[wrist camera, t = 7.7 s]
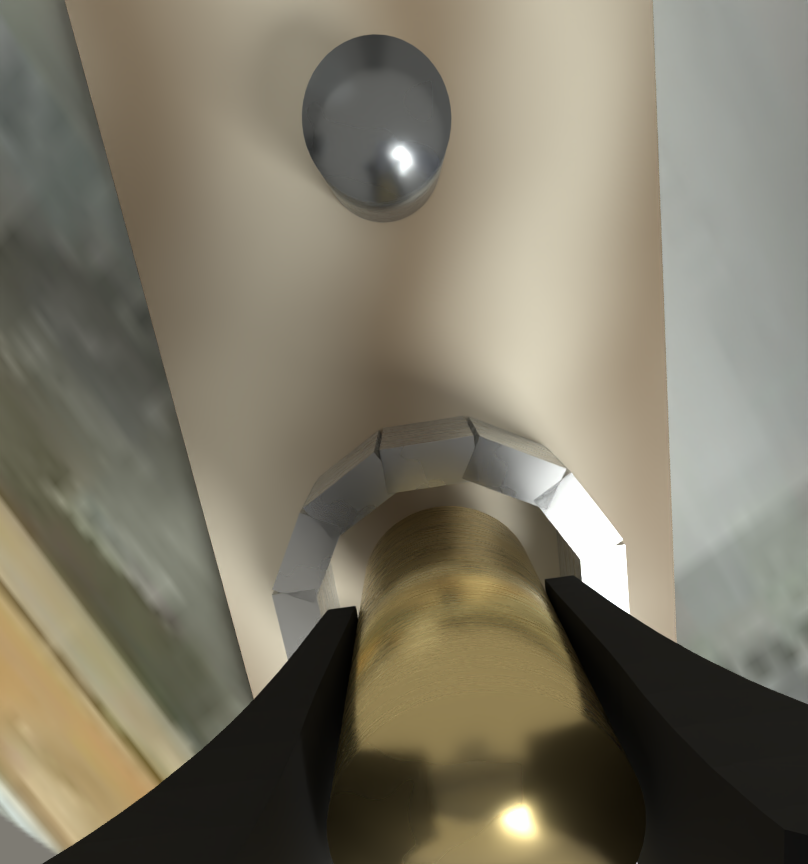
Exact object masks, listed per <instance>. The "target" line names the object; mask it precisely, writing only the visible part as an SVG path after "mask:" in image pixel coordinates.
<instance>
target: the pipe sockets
mask: <svg viewBox="0 0 808 864" xmlns="http://www.w3.org/2000/svg"><path fill="white" fill-rule="evenodd" d="M451 119H452V118H451V106H450V100H449V96H448V92H447V89H446V86H445V84H444V82H443V79H442V77H441V75H440V74H439V72H438V70H437V69H436V67H435V66H434V64H433V63H432V62H431V61H430V59H429V58H428V57H427V56H426V55H425V54H423V53H422V52H421V51H420V50H419V49H417V48H416V47H415V46H413V45H412V44H410V43H408V42H406V41H404V40H402V39H399V38H396V37H393V36H388V35H378V34H372V35H363V36H359V37H356V38H352V39H350V40H348V41H346V42H344V43H342V44H340V45H339V46H337V47H335V48H334V49H333V50H332V51H331V52H329V53H328V54H327V55H326V56H325V57H324V59H323V60H322V61H321V62H320V63H319V65H318V66H317V68H316V69H315V70H314V72H313V74H312V76H311V78H310V80H309V83H308V85H307V88H306V91H305V95H304V99H303V106H302V128H303V135H304V139H305V143H306V146H307V149H308V151H309V154H310V156H311V158H312V160H313V162H314V164H315V165H316V167H317V168H318V170H319V171H320V173H321V175H322V176H323V178H324V179H325V181H326V182H327V184H328V185H329V187H330V188H331V190H332V191H333V193H334V194H335V196H336V197H337V199H338V200H339V201H340V202H341V204H342V205H343V206H344V207H345V208H347V209H348V210H349V211H350V212H352V213H353V214H355V215H356V216H358V217H360V218H362V219H365V220H368V221H372V222H379V223H387V222H394V221H399V220H402V219H404V218H407V217H408V216H410V215H412V214H414V213H415V212H416V211H418V210H419V209H420V208H421V207H422V206H423V205H424V204H425V203H426V202H427V200H428V199H429V198H430V196H431V195H432V193H433V191H434V190H435V187H436V185H437V183H438V179H439V176H440V172H441V169H442V165H443V161H444V157H445V154H446V150H447V146H448V142H449V138H450V132H451ZM464 482H473V483H475V484H478V485H481V486H484V487H486V488H489V489H492V490H495V491H497V492H500V493H503V494H505V495H508V496H511V497H514V498H516V499H519V500H522V501H524V502H527V503H530V504H533V505H535V506H538V507H539V508H540V509H541V510H542V512H543V513H544V514H545V515H546V517H547V518H548V519H549V520H550V522H551V523H552V524H553V525H554V527H555V528H556V535H557V545H558V556H559V566H560V577H564V576H571V575H574V576H575V577H577V578H578V579H580V580H581V581H583V582H584V583H586V584H587V585H588V586H590V587H591V588H593V589H594V590H595V591H597V592H598V593H600V594H601V595H602V596H604V597H605V598H607V599H608V600H610V601H611V602H612V603H614V604H615V605H617V606H618V607H620V608H621V609H623V610H624V611H626V612H627V613H629V600H628V584H627V567H626V551H625V544H624V543H623V542H622V540H623V539H622V537H621V536H620V535H619V533H618V532H617V531H616V530H615V528H614V527H613V526H612V524H611V523H610V522H609V521H608V519H607V518H606V517H605V515H604V514H603V513H602V511H601V510H600V509H599V508H598V506H597V505H596V504H595V502H594V501H593V500H592V498H591V497H590V496H589V495H588V493H587V492H586V491H585V489H584V488H583V487H582V485H581V484H580V483H579V482H578V480H577V479H576V478H575V476H574V475H573V474H572V472H571V471H570V470H569V469H568V468H567V467H566V466H565V465H564V464H563V463H562V462H561V461H560V460H559V459H558V458H557V457H556V456H555V455H554V454H553V453H552V452H551V451H550V450H549V449H548V448H547V447H545V446H544V445H543V444H541V443H538V442H536V441H533V440H530V439H528V438H525V437H522V436H520V435H517V434H514V433H512V432H509V431H507V430H504V429H501V428H499V427H496V426H493V425H491V424H488V423H485V422H483V421H480V420H478V419H475V418H472V417H470V416H469V417H468V419H467V421H466V420H465V418H464V416H457V417H451V418H444V419H438V420H431V421H425V422H418V423H412V424H405V425H399V426H393V427H386V428H383V433H382V434H381V433H380V431H379V430H378V431H377V432H375V433H374V434H373V435H372V436H370V437H369V438H368V439H367V440H365V441H364V442H363V443H362V444H360V445H359V446H358V447H357V448H355V449H354V450H353V451H352V452H350V453H349V454H348V455H346V456H345V457H344V458H343V459H341V460H340V461H339V462H338V463H336V464H335V465H334V466H333V467H331V468H330V469H329V470H328V471H326V472H325V473H324V474H323V475H321V476H320V477H319V478H318V479H317V481H316V482H315V483H314V485H313V487H312V489H311V491H310V493H309V495H308V497H307V499H306V501H305V503H304V505H303V507H302V509H301V511H300V513H299V516H298V519H297V521H296V524H295V527H294V530H293V533H292V535H291V538H290V541H289V544H288V547H287V549H286V552H285V555H284V558H283V561H282V563H281V566H280V569H279V572H278V575H277V577H276V580H275V583H274V586H273V588H272V590H274V591H273V594H272V598H273V602H274V606H275V610H276V614H277V618H278V622H279V626H280V630H281V634H282V638H283V642H284V646H285V651H286V655H287V659H289V658H290V657H291V656H292V655H293V653H294V652H295V651H296V650H297V648H298V647H299V646H300V645H301V643H302V642H303V641H304V639H305V638H306V637H307V636H308V634H309V633H310V632H311V630H312V629H313V628H314V626H315V625H316V624H317V623H318V621H319V620H320V619H321V618H322V616H323V615H324V614H325V613H326V611H327V610H329V609H336V608H340V603H339V599H338V594H337V589H336V585H335V580H334V575H333V570H332V566H331V561H330V560H331V558H332V555H333V552H334V550H335V547H336V545H337V542H338V539H339V537H340V535H342V534H343V533H344V532H345V531H347V530H348V529H349V528H351V527H352V526H353V525H355V524H356V523H357V522H359V521H360V520H361V519H362V518H364V517H365V516H366V515H368V514H369V513H370V512H372V511H373V510H374V509H376V508H377V507H378V506H379V505H381V504H382V503H383V502H385V501H386V500H387V499H389V498H390V497H391V496H392V495H394V494H395V493H397V492H404V491H410V490H417V489H424V488H430V487H437V486H444V485H451V484H457V483H464Z"/></svg>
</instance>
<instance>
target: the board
mask: <svg viewBox="0 0 808 864" xmlns="http://www.w3.org/2000/svg"><path fill="white" fill-rule="evenodd" d="M65 3H66V7H67V11H68V14H69V18H70V22H71V25H72V29H73V33H74V36H75V40H76V44H77V48H78V51H79V55H80V59H81V62H82V66H83V70H84V73H85V77H86V81H87V84H88V88H89V92H90V96H91V99H92V103H93V107H94V110H95V114H96V118H97V121H98V125H99V129H100V133H101V136H102V140H103V144H104V147H105V151H106V155H107V158H108V162H109V166H110V169H111V173H112V177H113V181H114V184H115V188H116V192H117V195H118V199H119V203H120V206H121V210H122V214H123V217H124V221H125V225H126V229H127V232H128V236H129V240H130V243H131V247H132V251H133V254H134V258H135V262H136V265H137V269H138V273H139V277H140V280H141V284H142V288H143V291H144V295H145V299H146V302H147V306H148V310H149V314H150V317H151V321H152V325H153V328H154V332H155V336H156V339H157V343H158V347H159V350H160V354H161V358H162V362H163V365H164V369H165V373H166V376H167V380H168V384H169V387H170V391H171V395H172V398H173V402H174V406H175V410H176V413H177V417H178V421H179V424H180V428H181V432H182V435H183V439H184V443H185V447H186V450H187V454H188V458H189V461H190V465H191V469H192V472H193V476H194V480H195V483H196V487H197V491H198V495H199V498H200V502H201V506H202V509H203V513H204V517H205V520H206V524H207V528H208V531H209V535H210V539H211V543H212V546H213V550H214V554H215V557H216V561H217V565H218V568H219V572H220V576H221V580H222V583H223V587H224V591H225V594H226V598H227V602H228V605H229V609H230V613H231V616H232V620H233V624H234V628H235V631H236V635H237V639H238V642H239V646H240V650H241V653H242V657H243V661H244V664H245V668H246V672H247V676H248V679H249V683H250V687H251V690H252V694H253V698H255V697H256V696H257V695H258V694H259V693H260V692H261V691H262V690H263V688H264V687H265V686H266V685H267V684H268V683H269V682H270V681H271V680H272V678H273V677H274V676H275V675H276V674H277V673H278V672H279V671H280V669H281V668H282V667H283V666H284V664H285V663H286V662H287V661H288V659H287V655H286V651H285V646H284V642H283V638H282V634H281V630H280V626H279V622H278V618H277V614H276V610H275V606H274V602H273V598H272V594H273V591H274V590H272V588H273V586H274V583H275V580H276V577H277V575H278V572H279V569H280V566H281V563H282V561H283V558H284V555H285V552H286V549H287V547H288V544H289V541H290V538H291V535H292V533H293V530H294V527H295V524H296V521H297V519H298V516H299V513H300V511H301V509H302V507H303V505H304V503H305V501H306V499H307V497H308V495H309V493H310V491H311V489H312V487H313V485H314V483H315V482H316V481H317V479H318V478H319V477H320V476H321V475H323V474H324V473H325V472H326V471H328V470H329V469H330V468H331V467H333V466H334V465H335V464H336V463H338V462H339V461H340V460H341V459H343V458H344V457H345V456H346V455H348V454H349V453H350V452H352V451H353V450H354V449H355V448H357V447H358V446H359V445H360V444H362V443H363V442H364V441H365V440H367V439H368V438H369V437H370V436H372V435H373V434H374V433H375V432H377V431H378V430H379V431H380V433H381V434H382V433H383V428H386V427H393V426H399V425H405V424H412V423H418V422H425V421H431V420H438V419H444V418H451V417H457V416H464V418H465V420H466V421H467V419H468V417H469V416H470V417H472V418H475V419H478V420H480V421H483V422H485V423H488V424H491V425H493V426H496V427H499V428H501V429H504V430H507V431H509V432H512V433H514V434H517V435H520V436H522V437H525V438H528V439H530V440H533V441H536V442H538V443H541V444H543V445H544V446H545V447H547V448H548V449H549V450H550V451H551V452H552V453H553V454H554V455H555V456H556V457H557V458H558V459H559V460H560V461H561V462H562V463H563V464H564V465H565V466H566V467H567V468H568V469H569V470H570V471H571V472H572V474H573V475H574V476H575V478H576V479H577V480H578V482H579V483H580V484H581V485H582V487H583V488H584V489H585V491H586V492H587V493H588V495H589V496H590V497H591V498H592V500H593V501H594V502H595V504H596V505H597V506H598V508H599V509H600V510H601V511H602V513H603V514H604V515H605V517H606V518H607V519H608V521H609V522H610V523H611V524H612V526H613V527H614V528H615V530H616V531H617V532H618V533H619V535H620V536H621V537H622V539H623V540H622V542H623V543H624V544H625V551H626V567H627V584H628V600H629V614H630V615H632V616H633V617H635V618H636V619H638V620H639V621H641V622H642V623H644V624H646V625H647V626H649V627H650V628H652V629H654V630H655V631H657V632H658V633H660V634H662V635H664V636H665V637H667V638H669V639H670V640H672V641H674V642H676V615H675V588H674V561H673V534H672V508H671V481H670V454H669V427H668V400H667V374H666V347H665V320H664V293H663V266H662V240H661V213H660V186H659V159H658V132H657V105H656V79H655V52H654V25H653V0H65ZM372 34H378V35H388V36H393V37H396V38H399V39H402V40H404V41H406V42H408V43H410V44H412V45H413V46H415V47H416V48H417V49H419V50H420V51H421V52H422V53H423V54H425V55H426V56H427V57H428V58H429V59H430V61H431V62H432V63H433V64H434V66H435V67H436V69H437V70H438V72H439V74H440V75H441V77H442V79H443V82H444V84H445V86H446V89H447V92H448V96H449V100H450V106H451V118H452V119H451V132H450V138H449V142H448V146H447V150H446V154H445V157H444V161H443V165H442V169H441V172H440V176H439V179H438V183H437V185H436V187H435V190H434V191H433V193H432V195H431V196H430V198H429V199H428V200H427V202H426V203H425V204H424V205H423V206H422V207H421V208H420V209H419V210H418V211H416V212H415V213H414V214H412V215H410V216H408V217H407V218H404V219H402V220H399V221H394V222H387V223H379V222H372V221H368V220H365V219H362V218H360V217H358V216H356V215H355V214H353V213H352V212H350V211H349V210H348V209H347V208H345V207H344V206H343V205H342V204H341V202H340V201H339V200H338V199H337V197H336V196H335V194H334V193H333V191H332V190H331V188H330V187H329V185H328V184H327V182H326V181H325V179H324V178H323V176H322V175H321V173H320V171H319V170H318V168H317V167H316V165H315V164H314V162H313V160H312V158H311V156H310V154H309V151H308V149H307V146H306V143H305V139H304V135H303V128H302V106H303V99H304V95H305V91H306V88H307V85H308V83H309V80H310V78H311V76H312V74H313V72H314V70H315V69H316V68H317V66H318V65H319V63H320V62H321V61H322V60H323V59H324V57H325V56H326V55H327V54H328V53H329V52H331V51H332V50H333V49H334V48H335V47H337V46H339V45H340V44H342V43H344V42H346V41H348V40H350V39H352V38H356V37H359V36H363V35H372ZM441 506H459V507H466V508H471V509H474V510H478V511H481V512H483V513H486V514H488V515H490V516H492V517H494V518H495V519H497V520H499V521H500V522H501V523H503V524H504V525H505V526H507V527H508V528H509V529H510V530H511V531H512V532H513V533H514V534H515V535H516V537H517V538H518V539H519V541H520V542H521V544H522V546H523V547H524V549H525V551H526V553H527V555H528V557H529V559H530V561H531V563H532V565H533V567H534V569H535V571H536V573H537V575H538V577H539V579H540V581H541V583H542V586H543V588H544V590H545V592H546V589H545V580H544V579H549V578H557V577H560V566H559V556H558V545H557V535H556V528H555V527H554V525H553V524H552V523H551V522H550V520H549V519H548V518H547V517H546V515H545V514H544V513H543V512H542V510H541V509H540V508H539V507H538V506H535V505H533V504H530V503H527V502H524V501H522V500H519V499H516V498H514V497H511V496H508V495H505V494H503V493H500V492H497V491H495V490H492V489H489V488H486V487H484V486H481V485H478V484H475V483H473V482H464V483H457V484H451V485H444V486H437V487H430V488H424V489H417V490H410V491H404V492H397V493H395V494H394V495H392V496H391V497H390V498H389V499H387V500H386V501H385V502H383V503H382V504H381V505H379V506H378V507H377V508H376V509H374V510H373V511H372V512H370V513H369V514H368V515H366V516H365V517H364V518H362V519H361V520H360V521H359V522H357V523H356V524H355V525H353V526H352V527H351V528H349V529H348V530H347V531H345V532H344V533H343V534H342V535H340V537H339V539H338V542H337V545H336V547H335V550H334V552H333V555H332V558H331V560H330V561H331V566H332V570H333V575H334V580H335V585H336V589H337V594H338V599H339V603H340V608H343V607H350V606H356V610H357V615H358V617H359V611H360V604H361V598H362V591H363V585H364V579H365V572H366V567H367V564H368V560H369V557H370V555H371V553H372V551H373V549H374V547H375V546H376V544H377V543H378V541H379V540H380V539H381V537H382V536H383V535H384V534H385V533H386V532H387V531H388V530H389V529H390V528H391V527H392V526H393V525H395V524H396V523H398V522H399V521H400V520H402V519H403V518H405V517H407V516H409V515H411V514H413V513H416V512H419V511H421V510H425V509H429V508H433V507H441ZM676 643H677V642H676Z"/></svg>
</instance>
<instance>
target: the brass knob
mask: <svg viewBox="0 0 808 864" xmlns="http://www.w3.org/2000/svg"><path fill="white" fill-rule="evenodd" d="M645 829H646V810H645V804H644V798H643V793H642V790H641V788H640V785H639V782H638V779H637V777H636V775H635V773H634V771H633V769H632V767H631V765H630V762H629V760H628V758H627V756H626V754H625V752H624V750H623V748H622V746H621V744H620V742H619V740H618V738H617V736H616V734H615V732H614V730H613V728H612V726H611V724H610V722H609V720H608V718H607V716H606V714H605V712H604V710H603V708H602V706H601V703H600V701H599V699H598V697H597V695H596V693H595V691H594V689H593V687H592V685H591V683H590V681H589V679H588V677H587V675H586V673H585V671H584V669H583V667H582V665H581V663H580V661H579V659H578V657H577V655H576V653H575V651H574V649H573V647H572V644H571V642H570V640H569V638H568V636H567V634H566V632H565V630H564V628H563V626H562V624H561V622H560V620H559V618H558V616H557V614H556V612H555V610H554V608H553V606H552V604H551V602H550V600H549V598H548V596H547V594H546V592H545V590H544V588H543V586H542V583H541V581H540V579H539V577H538V575H537V573H536V571H535V569H534V567H533V565H532V563H531V561H530V559H529V557H528V555H527V553H526V551H525V549H524V547H523V546H522V544H521V542H520V541H519V539H518V538H517V537H516V535H515V534H514V533H513V532H512V531H511V530H510V529H509V528H508V527H507V526H505V525H504V524H503V523H501V522H500V521H499V520H497V519H495V518H494V517H492V516H490V515H488V514H486V513H483V512H481V511H478V510H474V509H471V508H466V507H459V506H441V507H433V508H429V509H425V510H421V511H419V512H416V513H413V514H411V515H409V516H407V517H405V518H403V519H402V520H400V521H399V522H398V523H396V524H395V525H393V526H392V527H391V528H390V529H389V530H388V531H387V532H386V533H385V534H384V535H383V536H382V537H381V539H380V540H379V541H378V543H377V544H376V546H375V547H374V549H373V551H372V553H371V555H370V557H369V560H368V564H367V567H366V572H365V579H364V585H363V591H362V598H361V604H360V611H359V617H358V623H357V630H356V636H355V643H354V649H353V655H352V662H351V668H350V675H349V681H348V688H347V694H346V700H345V707H344V713H343V720H342V726H341V732H340V739H339V745H338V752H337V758H336V764H335V771H334V777H333V784H332V790H331V796H330V803H329V810H328V817H327V840H328V845H329V850H330V855H331V858H332V860H333V863H334V864H636V862H637V860H638V858H639V855H640V852H641V849H642V846H643V841H644V835H645Z"/></svg>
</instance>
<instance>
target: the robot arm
mask: <svg viewBox="0 0 808 864" xmlns="http://www.w3.org/2000/svg"><path fill="white" fill-rule="evenodd" d="M544 580H545V589H546V594H547V596H548V598H549V600H550V602H551V604H552V606H553V608H554V610H555V612H556V614H557V616H558V618H559V620H560V622H561V624H562V626H563V628H564V630H565V632H566V634H567V636H568V638H569V640H570V642H571V644H572V647H573V649H574V651H575V653H576V655H577V657H578V659H579V661H580V663H581V665H582V667H583V669H584V671H585V673H586V675H587V677H588V679H589V681H590V683H591V685H592V687H593V689H594V691H595V693H596V695H597V697H598V699H599V701H600V703H601V706H602V708H603V710H604V712H605V714H606V716H607V718H608V720H609V722H610V724H611V726H612V728H613V730H614V732H615V734H616V736H617V738H618V740H619V742H620V744H621V746H622V748H623V750H624V752H625V754H626V756H627V758H628V760H629V762H630V765H631V767H632V769H633V771H634V773H635V775H636V777H637V779H638V782H639V785H640V788H641V790H642V793H643V798H644V804H645V810H646V829H645V835H644V841H643V846H642V849H641V852H640V855H639V858H638V860H637V862H638V864H808V704H806V703H803V702H801V701H798V700H796V699H793V698H791V697H788V696H786V695H783V694H781V693H778V692H776V691H773V690H771V689H768V688H766V687H764V686H762V685H759V684H757V683H755V682H752V681H750V680H748V679H746V678H743V677H741V676H739V675H737V674H735V673H733V672H731V671H729V670H727V669H725V668H723V667H721V666H719V665H717V664H715V663H713V662H710V661H708V660H707V659H705V658H703V657H701V656H699V655H697V654H695V653H693V652H691V651H690V650H688V649H686V648H684V647H683V646H681V645H679V644H677V643H676V642H674V641H672V640H670V639H669V638H667V637H665V636H664V635H662V634H660V633H658V632H657V631H655V630H654V629H652V628H650V627H649V626H647V625H646V624H644V623H642V622H641V621H639V620H638V619H636V618H635V617H633V616H632V615H630V614H629V613H627V612H626V611H624V610H623V609H621V608H620V607H618V606H617V605H615V604H614V603H612V602H611V601H610V600H608V599H607V598H605V597H604V596H602V595H601V594H600V593H598V592H597V591H595V590H594V589H593V588H591V587H590V586H588V585H587V584H586V583H584V582H583V581H581V580H580V579H578V578H577V577H575V576H574V575H571V576H564V577H557V578H549V579H544ZM357 623H358V615H357V610H356V606H350V607H343V608H336V609H329V610H327V611H326V613H325V614H324V615H323V616H322V618H321V619H320V620H319V621H318V623H317V624H316V625H315V626H314V628H313V629H312V630H311V632H310V633H309V634H308V636H307V637H306V638H305V639H304V641H303V642H302V643H301V645H300V646H299V647H298V648H297V650H296V651H295V652H294V653H293V655H292V656H291V657H290V658H289V659H288V661H287V662H286V663H285V664H284V666H283V667H282V668H281V669H280V671H279V672H278V673H277V674H276V675H275V676H274V677H273V678H272V680H271V681H270V682H269V683H268V684H267V685H266V686H265V687H264V688H263V690H262V691H261V692H260V693H259V694H258V695H257V696H256V697H255V698H254V700H253V701H252V702H251V703H250V704H249V705H248V706H247V707H246V708H245V709H244V710H243V711H242V712H241V713H240V714H239V715H238V716H237V717H236V718H235V719H234V720H233V721H232V722H231V723H230V724H229V725H228V726H227V727H226V728H225V729H224V730H223V731H222V732H220V733H219V734H218V735H217V736H216V737H215V738H214V739H213V740H212V741H211V742H210V743H209V744H207V745H206V746H205V747H204V748H203V749H202V750H201V751H199V752H198V753H197V754H196V755H195V756H193V757H192V758H191V759H190V760H188V761H187V762H186V763H185V764H183V765H182V766H181V767H180V768H179V769H177V770H176V771H175V772H174V773H172V774H171V775H170V776H169V777H168V778H166V779H165V780H164V781H163V782H161V783H160V784H159V785H158V786H156V787H155V788H154V789H153V790H151V791H150V792H149V793H147V794H146V795H145V796H143V797H142V798H140V799H139V800H138V801H136V802H135V803H134V804H132V805H131V806H129V807H128V808H127V809H125V810H124V811H123V812H121V813H120V814H118V815H117V816H115V817H114V818H112V819H111V820H110V821H108V822H107V823H105V824H104V825H102V826H101V827H99V828H98V829H96V830H95V831H94V832H92V833H91V834H89V835H87V836H86V837H84V838H83V839H81V840H80V841H78V842H77V843H75V844H74V845H72V846H71V847H69V848H67V849H66V850H64V851H62V852H61V853H59V854H57V855H56V856H54V857H53V858H51V859H49V860H48V861H46V862H44V863H43V864H334V863H333V860H332V858H331V855H330V850H329V845H328V840H327V817H328V810H329V803H330V796H331V790H332V784H333V777H334V771H335V764H336V758H337V752H338V745H339V739H340V732H341V726H342V720H343V713H344V707H345V700H346V694H347V688H348V681H349V675H350V668H351V662H352V655H353V649H354V643H355V636H356V630H357Z"/></svg>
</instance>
